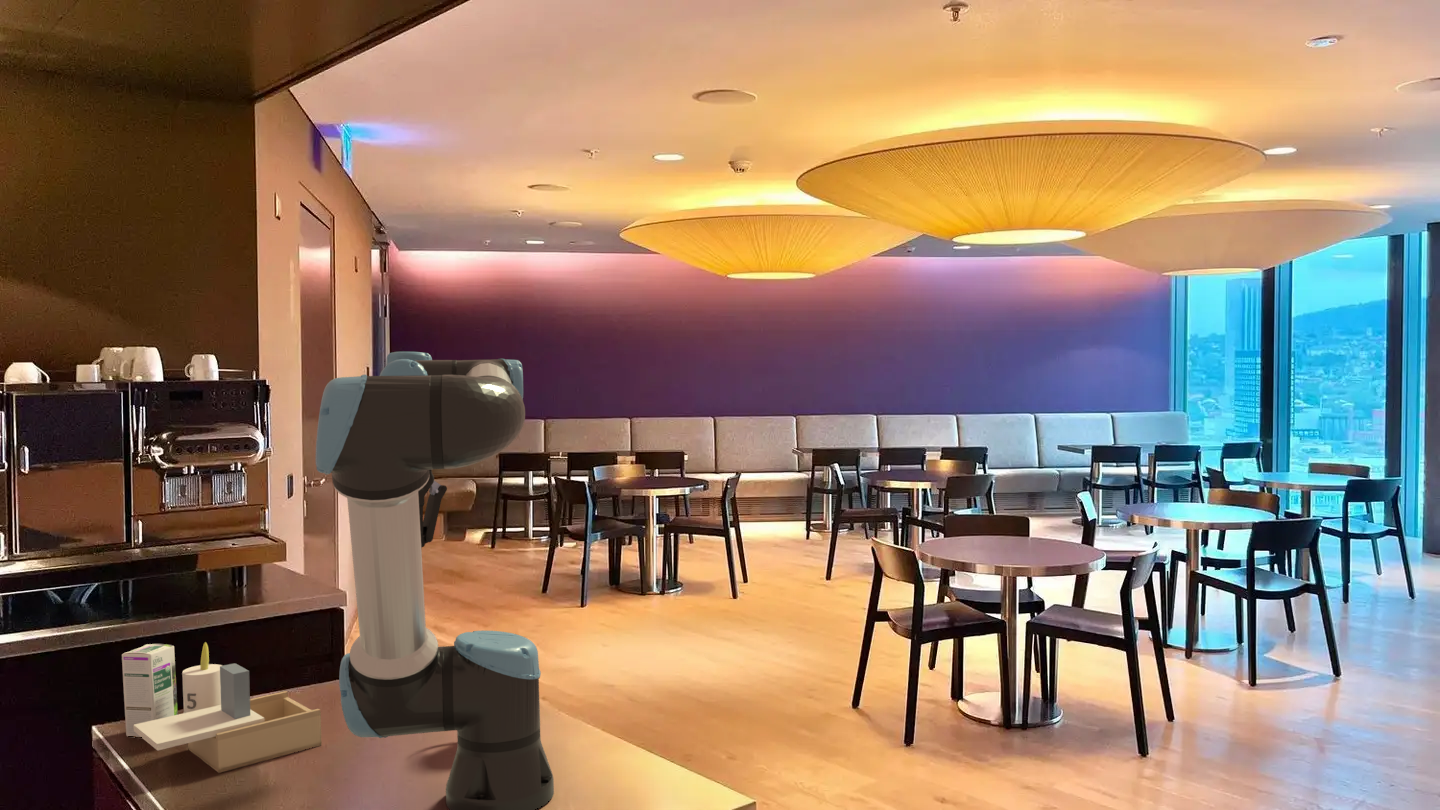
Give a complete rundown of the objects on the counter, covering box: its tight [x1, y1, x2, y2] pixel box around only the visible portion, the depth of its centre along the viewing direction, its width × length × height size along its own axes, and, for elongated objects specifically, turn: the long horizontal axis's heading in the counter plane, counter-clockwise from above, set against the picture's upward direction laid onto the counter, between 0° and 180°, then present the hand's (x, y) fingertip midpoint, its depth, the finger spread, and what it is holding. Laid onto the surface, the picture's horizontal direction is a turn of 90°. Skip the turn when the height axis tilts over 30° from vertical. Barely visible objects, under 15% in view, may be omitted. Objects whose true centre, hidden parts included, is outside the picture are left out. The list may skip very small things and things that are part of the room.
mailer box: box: [187, 690, 322, 774], centre depth 172 cm, size 16×14×6 cm
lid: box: [134, 663, 265, 751], centre depth 166 cm, size 16×12×8 cm
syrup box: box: [121, 643, 179, 737], centre depth 179 cm, size 6×6×14 cm
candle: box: [181, 641, 223, 713], centre depth 180 cm, size 6×6×15 cm
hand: (408, 586), depth 175 cm, fingers closed
